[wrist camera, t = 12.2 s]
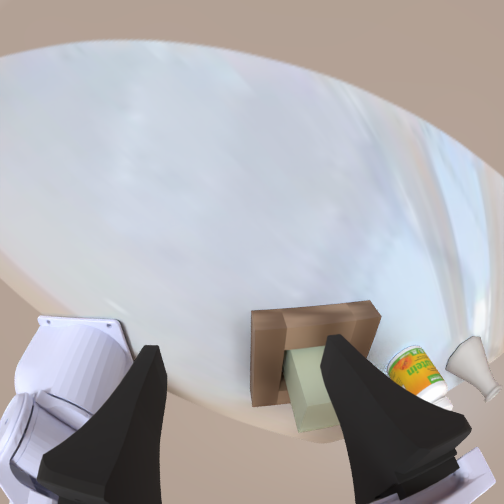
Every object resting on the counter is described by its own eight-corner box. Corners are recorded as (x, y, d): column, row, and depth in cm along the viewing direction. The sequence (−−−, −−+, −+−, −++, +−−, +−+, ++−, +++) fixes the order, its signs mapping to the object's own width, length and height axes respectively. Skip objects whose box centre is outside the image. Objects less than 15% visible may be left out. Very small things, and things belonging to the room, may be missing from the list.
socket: (249, 388, 28) (252, 407, 26) (251, 310, 23) (255, 330, 21) (344, 376, 29) (351, 392, 27) (369, 300, 24) (381, 316, 22)
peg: (281, 366, 27) (298, 432, 20) (285, 334, 25) (307, 406, 18) (323, 361, 28) (347, 422, 20) (331, 330, 26) (362, 394, 18)
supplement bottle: (424, 338, 29) (464, 393, 20) (417, 364, 31) (450, 416, 23) (388, 354, 29) (425, 417, 20) (384, 379, 31) (413, 436, 23)
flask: (484, 330, 32) (518, 369, 23) (466, 362, 35) (494, 401, 26) (457, 340, 31) (493, 387, 22) (438, 373, 34) (467, 418, 25)
